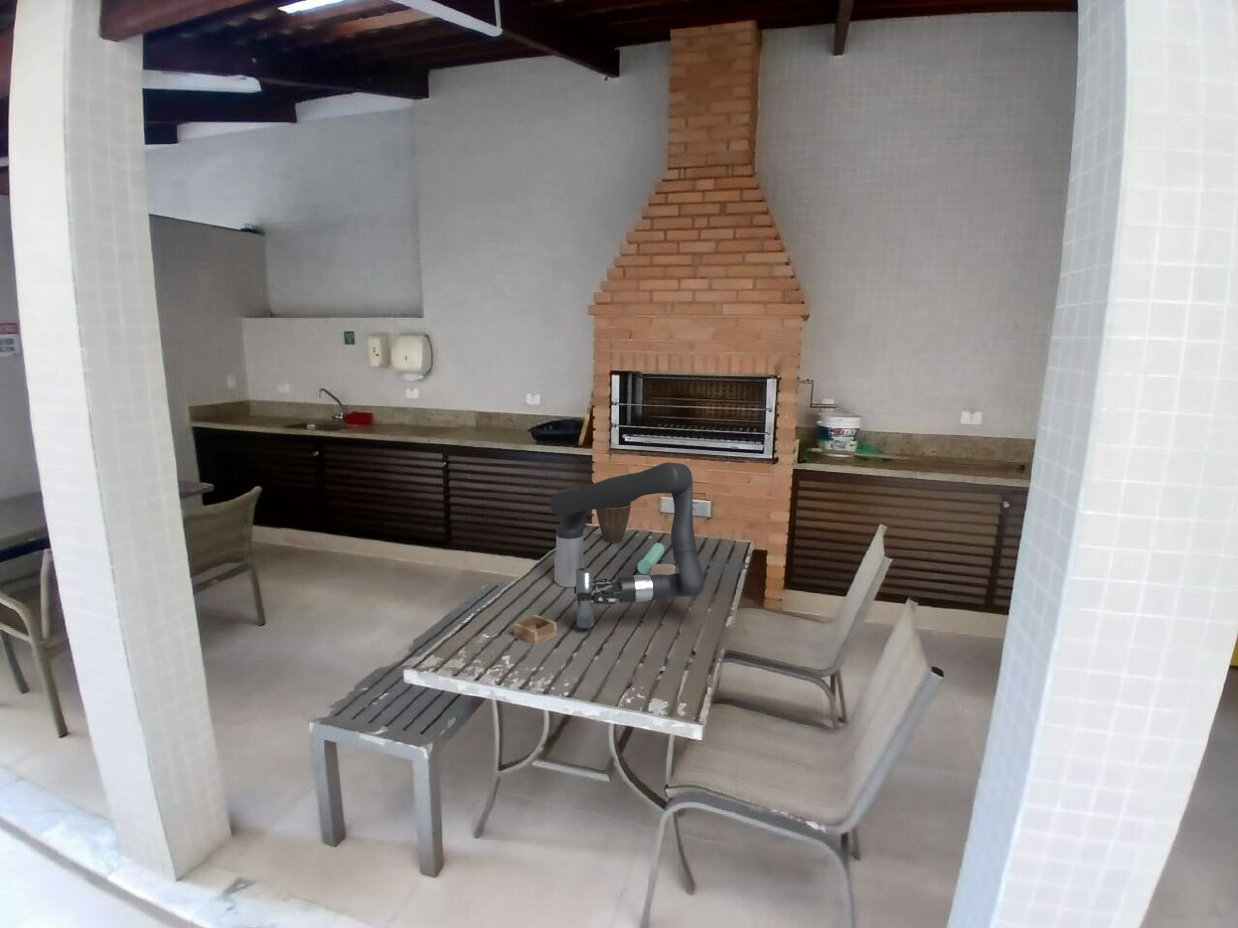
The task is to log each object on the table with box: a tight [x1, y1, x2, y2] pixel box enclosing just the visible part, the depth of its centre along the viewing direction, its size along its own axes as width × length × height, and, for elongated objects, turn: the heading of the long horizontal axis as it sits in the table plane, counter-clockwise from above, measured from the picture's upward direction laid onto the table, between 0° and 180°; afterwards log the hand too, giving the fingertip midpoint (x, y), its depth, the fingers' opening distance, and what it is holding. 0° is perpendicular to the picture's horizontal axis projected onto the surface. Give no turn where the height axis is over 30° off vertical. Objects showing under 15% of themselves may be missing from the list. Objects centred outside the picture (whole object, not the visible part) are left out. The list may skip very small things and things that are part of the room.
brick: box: [648, 563, 677, 575], centre depth 218 cm, size 17×8×5 cm, turn 170°
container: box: [637, 542, 665, 575], centre depth 239 cm, size 6×6×25 cm
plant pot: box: [595, 502, 632, 544], centre depth 265 cm, size 15×15×16 cm
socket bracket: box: [512, 614, 559, 647], centre depth 177 cm, size 9×9×4 cm
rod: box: [575, 567, 595, 629], centre depth 178 cm, size 5×5×16 cm
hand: (575, 593), depth 177 cm, fingers closed on rod, 4 cm apart
